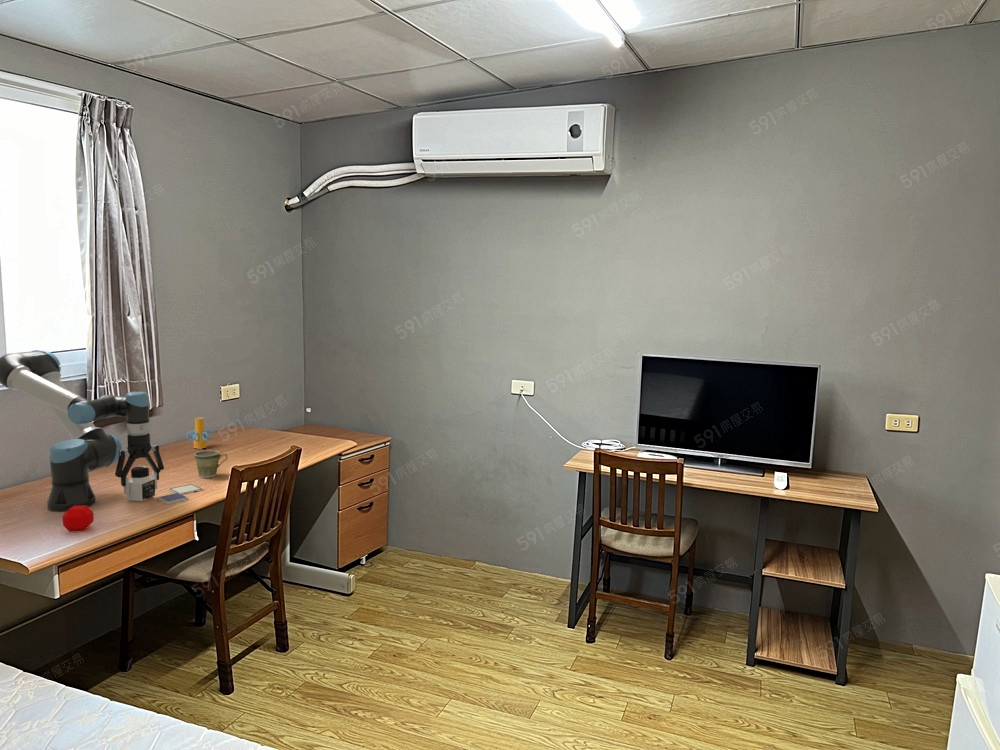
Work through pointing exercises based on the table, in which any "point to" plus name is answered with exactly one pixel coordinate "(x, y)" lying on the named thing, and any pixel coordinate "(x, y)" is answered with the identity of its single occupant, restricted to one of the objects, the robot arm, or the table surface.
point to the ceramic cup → (208, 463)
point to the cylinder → (199, 434)
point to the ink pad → (172, 498)
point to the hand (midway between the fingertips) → (140, 491)
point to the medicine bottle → (141, 484)
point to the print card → (185, 489)
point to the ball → (78, 518)
